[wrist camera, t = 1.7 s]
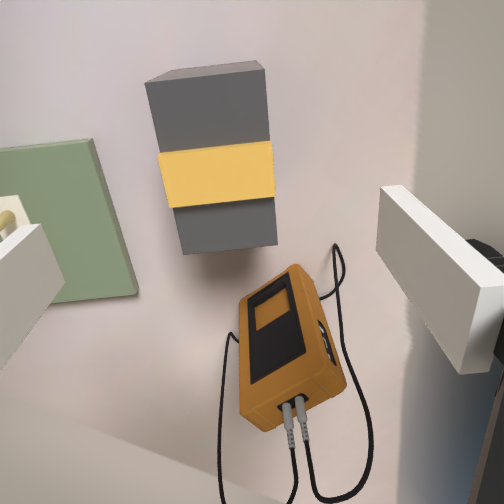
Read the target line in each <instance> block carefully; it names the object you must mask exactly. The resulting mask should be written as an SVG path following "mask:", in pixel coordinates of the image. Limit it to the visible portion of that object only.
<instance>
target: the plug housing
mask: <svg viewBox="0 0 504 504" xmlns="http://www.w3.org/2000/svg"><path fill="white" fill-rule="evenodd" d="M145 87H146V92H147V96H148V100H149V105H150V109H151V114H152V118H153V123H154V127H155V131H156V136H157V140H158V145H159V149H160V153H159V154H158V161H159V165H160V169H161V174H162V178H163V182H164V187H165V191H166V195H167V200H168V204H169V208H173V211H174V216H175V220H176V224H177V229H178V233H179V238H180V242H181V247H182V251H183V255H189V254H198V253H208V252H217V251H226V250H236V249H245V248H255V247H264V246H273V245H278V241H277V228H276V215H275V201H274V197H275V196H276V194H275V180H274V167H273V153H272V142H271V141H270V135H269V121H268V108H267V95H266V82H265V69H264V68H263V67H262V66H261V65H260V64H259V63H258V62H257V61H247V62H238V63H230V64H221V65H212V66H204V67H195V68H186V69H178V70H171V71H169V72H167V73H165V74H163V75H160V76H158V77H156V78H154V79H152V80H150V81H147V82H145Z"/></svg>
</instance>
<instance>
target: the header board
mask: <svg viewBox="0 0 504 504" xmlns="http://www.w3.org/2000/svg"><path fill="white" fill-rule="evenodd" d="M40 223H41V225H42V228H43V230H44V232H45V235H46V237H47V239H48V242H49V244H50V246H51V249H52V251H53V254H54V256H55V258H56V261H57V263H58V265H59V268H60V270H61V272H62V275H63V277H64V280H65V284H64V285H63V286H62V288H61V289H60V291H59V292H58V293H57V295H56V296H55V297H54V299H53V300H52V302H51V303H58V302H68V301H77V300H87V299H97V298H106V297H116V296H125V295H135V294H136V293H137V290H138V288H139V286H138V283H137V280H136V276H135V273H134V270H133V267H132V264H131V260H130V257H129V254H128V251H127V248H126V244H125V241H124V238H123V235H122V232H121V228H120V225H119V222H118V219H117V216H116V212H115V209H114V206H113V203H112V200H111V196H110V193H109V190H108V187H107V184H106V180H105V177H104V174H103V171H102V168H101V164H100V161H99V158H98V155H97V151H96V148H95V145H94V142H93V139H92V138H91V139H83V140H74V141H65V142H56V143H47V144H38V145H29V146H20V147H11V148H3V149H0V243H1V242H2V241H3V240H5V239H6V238H7V237H8V236H9V235H11V234H12V233H13V232H14V231H15V230H17V229H18V228H19V227H20V226H21V225H31V224H40Z"/></svg>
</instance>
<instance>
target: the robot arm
mask: <svg viewBox="0 0 504 504" xmlns="http://www.w3.org/2000/svg"><path fill="white" fill-rule="evenodd" d="M376 251H377V253H378V254H379V256H380V257H381V259H382V260H383V262H384V263H385V265H386V266H387V268H388V269H389V271H390V272H391V274H392V275H393V277H394V278H395V280H396V281H397V283H398V284H399V285H400V287H401V288H402V290H403V291H404V293H405V294H406V296H407V297H408V299H409V300H410V302H411V303H412V305H413V306H414V308H415V309H416V311H417V312H418V314H419V315H420V317H421V318H422V320H423V321H424V323H425V324H426V326H427V327H428V329H429V330H430V332H431V333H432V335H433V336H434V338H435V339H436V341H437V342H438V344H439V345H440V347H441V348H442V350H443V351H444V353H445V354H446V356H447V357H448V359H449V360H450V362H451V363H452V365H453V366H454V368H455V369H456V371H457V372H458V374H471V373H481V372H489V370H490V366H491V363H492V360H493V357H494V354H495V356H496V357H497V358H498V359H499V360H500V362H501V363H502V364H503V365H504V258H503V257H502V255H501V254H500V253H499V252H497V251H496V250H495V249H494V248H492V247H491V246H489V245H487V244H485V243H482V242H480V241H478V240H475V239H469V240H464V239H463V238H462V237H461V236H459V235H458V234H457V233H456V232H455V231H454V230H452V229H451V228H450V227H449V226H448V225H447V224H445V223H444V222H443V221H442V220H441V219H439V217H437V216H436V215H435V214H434V213H433V212H432V211H430V210H429V209H428V208H427V207H426V206H425V205H423V204H422V203H421V202H420V201H419V200H418V199H417V198H415V197H414V196H413V195H412V194H411V193H410V192H408V191H407V190H406V189H405V188H404V187H403V186H401V185H395V186H386V187H380V201H379V214H378V227H377V241H376ZM64 284H65V280H64V277H63V275H62V272H61V270H60V268H59V265H58V263H57V261H56V258H55V256H54V254H53V251H52V249H51V246H50V244H49V242H48V239H47V237H46V235H45V232H44V230H43V228H42V225H41V223H40V224H31V225H21V226H20V227H19V228H18V229H17V230H15V231H14V232H13V233H12V234H11V235H9V236H8V237H7V238H6V239H5V240H3V241H2V242H1V243H0V372H1V370H2V369H3V368H4V366H5V365H6V364H7V362H8V361H9V359H10V358H11V357H12V355H13V354H14V353H15V351H16V350H17V348H18V347H19V346H20V344H21V343H22V342H23V340H24V339H25V337H26V336H27V335H28V333H29V332H30V331H31V329H32V328H33V326H34V325H35V324H36V322H37V321H38V320H39V318H40V317H41V315H42V314H43V313H44V311H45V310H46V308H47V307H48V306H49V304H50V303H51V302H52V300H53V299H54V297H55V296H56V295H57V293H58V292H59V291H60V289H61V288H62V286H63V285H64ZM495 397H496V398H495V401H494V405H493V409H492V413H491V417H490V420H489V424H488V428H487V431H486V435H485V439H484V442H483V447H482V450H481V454H480V458H479V461H478V465H477V468H476V472H475V476H474V480H473V483H472V487H471V491H470V495H469V499H468V502H467V504H504V369H503V372H502V375H501V378H500V382H499V384H498V388H497V390H496V393H495Z"/></svg>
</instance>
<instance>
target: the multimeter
mask: <svg viewBox="0 0 504 504" xmlns="http://www.w3.org/2000/svg"><path fill="white" fill-rule="evenodd" d="M335 249H337V251H338V253H339V256H340V258H341V262H342V266H343V274H342V277H341V280H340V281H339V283H338V279H337V268H336V254H335ZM332 254H333V269H334V280H335V288H334V290H333V291H332V292H330V293H329V294H327V295H325V296H323V297H320V298H319V297H318V294H317V291H316V288H315V285H314V281H313V280H312V279H311V278H310V276H309V275H308V274H307V273H306V272H305V271H304V270H303V269H302V267H301V266H300V265H298V264H294V265H292V266H290V267H289V268H287V270H285V271H284V272H283V273H281V274H280V275H278V276H277V277H275V278H274V279H272V280H271V281H269V282H268V283H266V284H265V285H263V286H262V287H260V288H259V289H257V290H256V291H254V292H253V293H252V294H250V295H247V296H246V297H245V298H243V299H242V300H241V301H240V303H239V340H237V339H236V337H235V336H234V335H233V333H232V332H229V334H228V337H227V341H226V348H225V355H224V365H223V374H222V386H221V397H220V409H219V423H218V445H217V465H218V482H219V491H220V498H221V502H222V504H226V502H225V497H224V491H223V484H222V471H221V428H222V411H223V398H224V385H225V373H226V362H227V353H228V345H229V339H230V335H231V336H232V338H233V339H234V340H235V341H236V342H237V343H239V386H240V415H241V416H243V417H244V418H245V419H247V420H248V421H250V422H251V423H252V424H254V425H255V426H256V427H257V428H259V429H260V430H261V431H263V432H268V431H270V430H272V429H274V428H276V427H277V426H278V425H280V424H282V423H284V427H285V429H286V430H287V436H288V444H289V449H290V451H291V459H292V467H293V474H294V486H293V490H292V493H291V495H290V498H289V500H288V502H287V503H286V504H292V502H293V500H294V497H295V495H296V491H297V488H298V472H297V465H296V458H295V451H294V449H295V442H294V436H293V428H294V424H293V418H294V417H295V416H297V418H298V422H299V423H300V425H301V429H302V430H301V432H302V437H303V442H304V443H305V449H306V455H307V461H308V467H309V473H310V480H311V486H312V490H313V493H314V495H315V497H316V498H317V499H318V500H319V501H320V502H322V503H326V504H333V503H339V502H342V501H345V500H348V499H350V498H352V497H353V496H355V495H356V494H357V493H358V492H359V491H360V490H361V489H362V488H363V486H364V484H365V483H366V481H367V479H368V476H369V473H370V470H371V466H372V460H373V450H374V440H373V428H372V421H371V417H370V412H369V409H368V406H367V403H366V400H365V398H364V395H363V392H362V390H361V387H360V385H359V382H358V380H357V377H356V375H355V373H354V370H353V368H352V365H351V363H350V360H349V357H348V354H347V352H346V348H345V343H344V334H343V322H342V314H341V305H340V296H339V286H340V285H341V283H342V281H343V279H344V277H345V263H344V259H343V257H342V254H341V252H340V249H339V247H338V246H337V244H336V243H334V245H333V251H332ZM335 291H336V299H337V308H338V317H339V327H340V341H341V347H342V351H343V354H344V357H345V360H346V363H347V366H348V368H349V371H350V373H351V376H352V378H353V381H354V384H355V386H356V389H357V391H358V394H359V397H360V399H361V402H362V405H363V408H364V411H365V416H366V420H367V427H368V439H369V448H368V458H367V463H366V468H365V471H364V474H363V476H362V478H361V480H360V482H359V483H358V485H357V486H356V487H355V488H354V489H353V490H352V491H350V492H348V493H346V494H344V495H341V496H337V497H331V498H327V497H323V496H321V495H320V494H319V493H318V490H317V487H316V482H315V476H314V470H313V464H312V459H311V453H310V447H309V435H308V430H307V424H306V422H307V415H306V411H307V410H309V409H311V408H312V407H314V406H316V405H318V404H320V403H322V402H324V401H326V400H328V399H329V398H333V397H335V396H336V395H338V394H340V393H341V392H343V390H344V389H345V388H346V386H347V383H346V379H345V376H344V373H343V370H342V367H341V364H340V361H339V358H338V355H337V351H336V348H335V345H334V342H333V339H332V336H331V333H330V330H329V327H328V323H327V320H326V317H325V314H324V311H323V309H322V306H321V303H320V300H323V299H325V298H327V297H329V296H331V295H332V294H333V293H335Z"/></svg>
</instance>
